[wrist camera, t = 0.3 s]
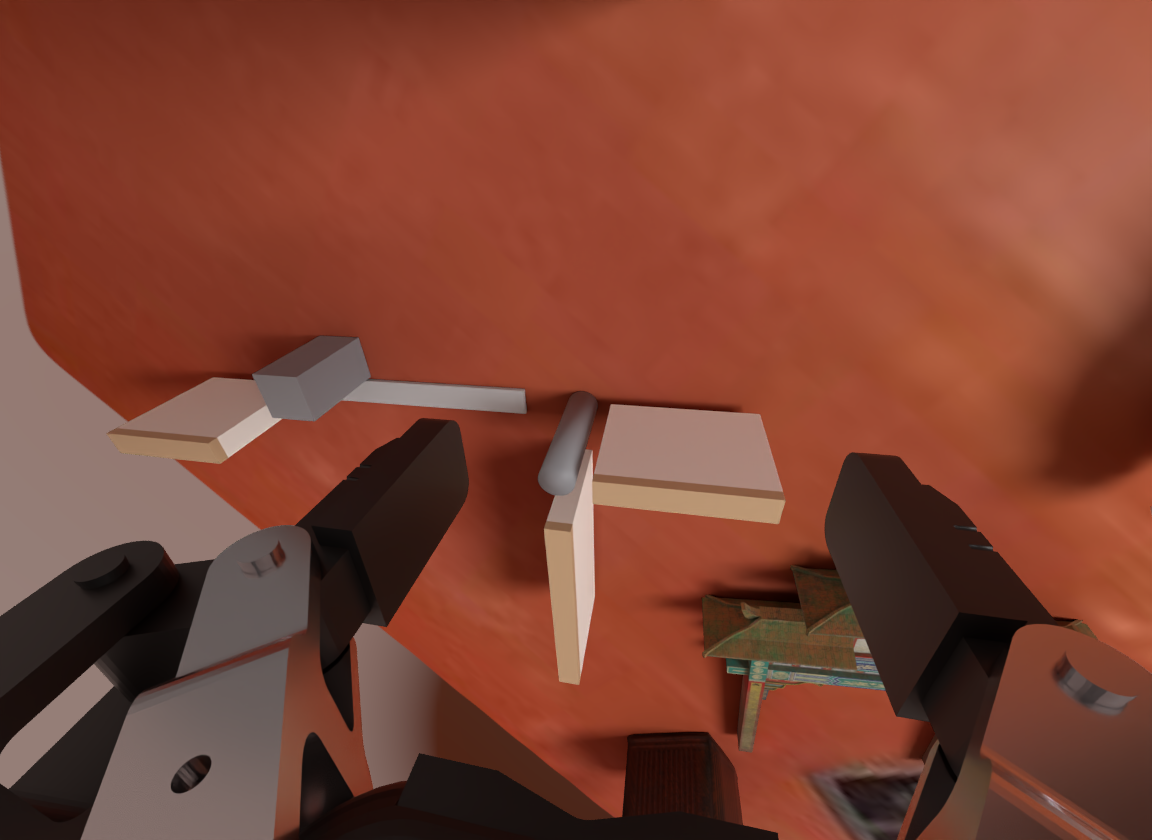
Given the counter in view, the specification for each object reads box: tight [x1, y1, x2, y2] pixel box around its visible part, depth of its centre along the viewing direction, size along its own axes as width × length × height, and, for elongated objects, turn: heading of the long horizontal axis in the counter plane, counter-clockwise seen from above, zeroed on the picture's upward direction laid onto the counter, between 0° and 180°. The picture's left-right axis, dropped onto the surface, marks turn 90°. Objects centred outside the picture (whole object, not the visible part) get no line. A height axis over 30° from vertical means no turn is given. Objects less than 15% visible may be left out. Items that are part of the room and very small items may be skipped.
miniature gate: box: [702, 565, 1098, 765], centre depth 38 cm, size 27×6×30 cm
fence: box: [107, 336, 785, 524], centre depth 27 cm, size 5×39×9 cm, turn 92°
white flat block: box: [544, 449, 595, 685], centre depth 32 cm, size 16×2×8 cm, turn 2°
